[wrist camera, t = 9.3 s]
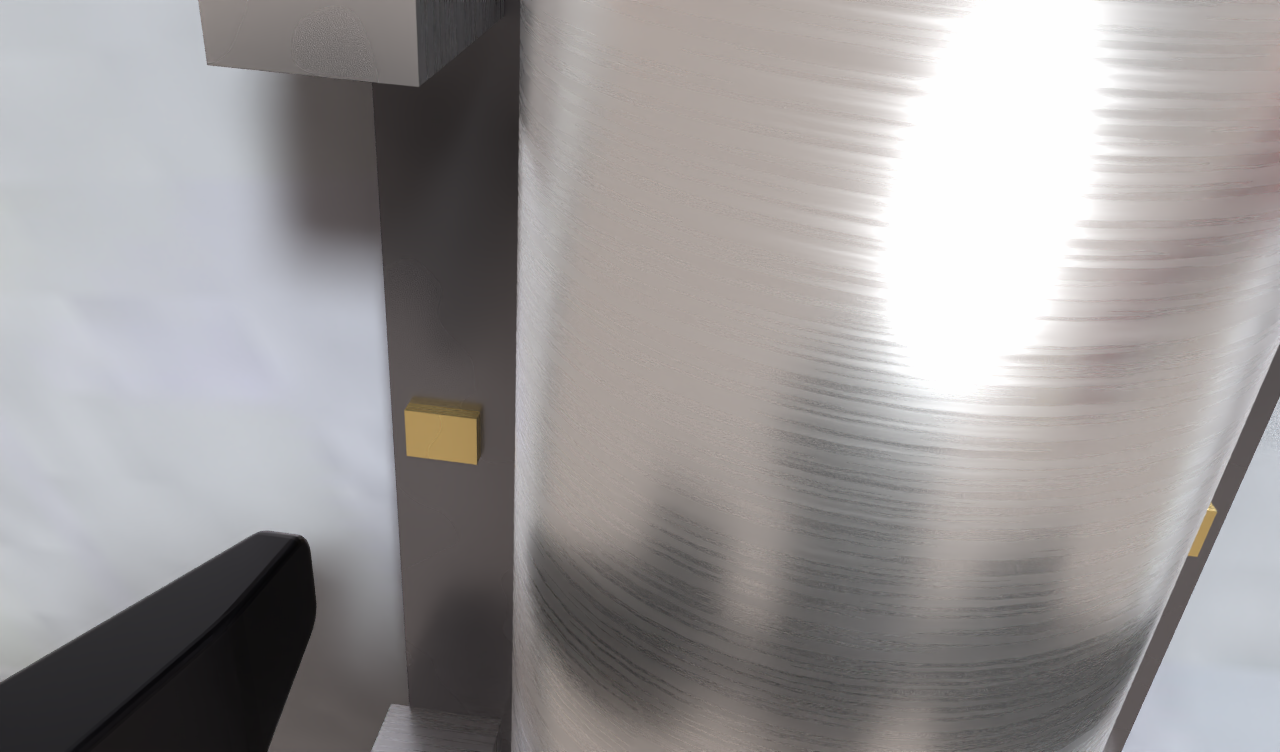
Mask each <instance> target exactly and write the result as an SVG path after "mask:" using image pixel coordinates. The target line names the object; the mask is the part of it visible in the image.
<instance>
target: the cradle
mask: <svg viewBox="0 0 1280 752" xmlns="http://www.w3.org/2000/svg"><path fill="white" fill-rule="evenodd" d="M198 1H199V9H200V16H201V23H202V30H203V37H204V45H205V52H206V59H207V65H211V66H221V67H231V68H240V69H250V70H260V71H269V72H279V73H289V74H299V75H308V76H318V77H328V78H337V79H347V80H357V81H367V82H372V87H373V104H374V121H375V138H376V154H377V171H378V188H379V204H380V221H381V238H382V254H383V271H384V288H385V304H386V321H387V338H388V355H389V371H390V388H391V405H392V421H393V438H394V455H395V471H396V488H397V505H398V522H399V538H400V555H401V572H402V588H403V605H404V622H405V638H406V655H407V672H408V689H409V705H410V706H405V705H398V704H391V706H390V708H389V710H388V713H387V715H386V717H385V720H384V722H383V724H382V727H381V729H380V731H379V734H378V736H377V738H376V741H375V743H374V745H373V748H372V750H371V752H511V733H512V651H513V569H514V487H515V405H516V323H517V241H518V159H519V77H520V0H198ZM1279 397H1280V344H1279V346H1278V349H1277V351H1276V353H1275V355H1274V358H1273V360H1272V362H1271V365H1270V367H1269V369H1268V372H1267V374H1266V376H1265V378H1264V381H1263V383H1262V385H1261V388H1260V390H1259V392H1258V395H1257V397H1256V399H1255V402H1254V404H1253V406H1252V408H1251V411H1250V413H1249V415H1248V418H1247V420H1246V422H1245V425H1244V427H1243V429H1242V431H1241V434H1240V436H1239V438H1238V441H1237V443H1236V445H1235V448H1234V450H1233V452H1232V454H1231V457H1230V459H1229V461H1228V464H1227V466H1226V468H1225V471H1224V473H1223V475H1222V477H1221V480H1220V482H1219V484H1218V487H1217V489H1216V491H1215V494H1214V496H1213V498H1212V500H1211V503H1210V505H1209V507H1208V510H1207V512H1206V514H1205V517H1204V519H1203V521H1202V523H1201V526H1200V528H1199V530H1198V533H1197V535H1196V537H1195V540H1194V542H1193V544H1192V546H1191V549H1190V551H1189V553H1188V556H1187V558H1186V560H1185V563H1184V565H1183V567H1182V570H1181V572H1180V574H1179V576H1178V579H1177V581H1176V583H1175V586H1174V588H1173V590H1172V593H1171V595H1170V597H1169V599H1168V602H1167V604H1166V606H1165V609H1164V611H1163V613H1162V616H1161V618H1160V620H1159V622H1158V625H1157V627H1156V629H1155V632H1154V634H1153V636H1152V639H1151V641H1150V643H1149V645H1148V648H1147V650H1146V652H1145V655H1144V657H1143V659H1142V662H1141V664H1140V666H1139V668H1138V671H1137V673H1136V675H1135V678H1134V680H1133V682H1132V685H1131V687H1130V689H1129V691H1128V694H1127V696H1126V698H1125V701H1124V703H1123V705H1122V708H1121V710H1120V712H1119V714H1118V717H1117V719H1116V721H1115V724H1114V726H1113V728H1112V731H1111V733H1110V735H1109V738H1108V740H1107V742H1106V744H1105V747H1104V749H1103V751H1102V752H1121V751H1122V749H1123V747H1124V744H1125V742H1126V740H1127V738H1128V735H1129V733H1130V731H1131V729H1132V726H1133V724H1134V722H1135V720H1136V717H1137V715H1138V713H1139V711H1140V709H1141V706H1142V704H1143V702H1144V700H1145V697H1146V695H1147V693H1148V691H1149V688H1150V686H1151V684H1152V682H1153V679H1154V677H1155V675H1156V673H1157V670H1158V668H1159V666H1160V664H1161V661H1162V659H1163V657H1164V655H1165V652H1166V650H1167V648H1168V646H1169V644H1170V641H1171V639H1172V637H1173V635H1174V632H1175V630H1176V628H1177V626H1178V623H1179V621H1180V619H1181V617H1182V614H1183V612H1184V610H1185V608H1186V605H1187V603H1188V601H1189V599H1190V596H1191V594H1192V592H1193V590H1194V587H1195V585H1196V583H1197V581H1198V579H1199V576H1200V574H1201V572H1202V570H1203V567H1204V565H1205V563H1206V561H1207V558H1208V556H1209V554H1210V552H1211V549H1212V547H1213V545H1214V543H1215V540H1216V538H1217V536H1218V534H1219V531H1220V529H1221V527H1222V525H1223V522H1224V520H1225V518H1226V516H1227V513H1228V511H1229V509H1230V507H1231V505H1232V502H1233V500H1234V498H1235V496H1236V493H1237V491H1238V489H1239V487H1240V484H1241V482H1242V480H1243V478H1244V475H1245V473H1246V471H1247V469H1248V466H1249V464H1250V462H1251V460H1252V457H1253V455H1254V453H1255V451H1256V448H1257V446H1258V444H1259V442H1260V440H1261V437H1262V435H1263V433H1264V431H1265V428H1266V426H1267V424H1268V422H1269V419H1270V417H1271V415H1272V413H1273V410H1274V408H1275V406H1276V404H1277V401H1278V399H1279Z"/></svg>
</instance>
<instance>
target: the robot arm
mask: <svg viewBox="0 0 1280 752" xmlns="http://www.w3.org/2000/svg"><path fill="white" fill-rule="evenodd" d="M315 617H316V596H315V587H314V578H313V569H312V560H311V552H310V547H309V544H308V542H307V540H306V539H305V538H304V537H302V536H300V535H296V534H289V533H282V532H274V531H260V532H257V533H255V534H253V535H251V536H250V537H248V538H246V539H244V540H243V541H241V542H239V543H238V544H236V545H234V546H233V547H231V548H229V549H227V550H226V551H224V552H222V553H221V554H219V555H217V556H215V557H214V558H212V559H210V560H209V561H207V562H205V563H203V564H202V565H200V566H198V567H197V568H195V569H193V570H192V571H190V572H188V573H186V574H185V575H183V576H181V577H180V578H178V579H176V580H174V581H173V582H171V583H169V584H168V585H166V586H164V587H162V588H161V589H159V590H157V591H156V592H154V593H152V594H151V595H149V596H147V597H145V598H144V599H142V600H140V601H139V602H137V603H135V604H133V605H132V606H130V607H128V608H127V609H125V610H123V611H121V612H120V613H118V614H116V615H115V616H113V617H111V618H110V619H108V620H106V621H104V622H103V623H101V624H99V625H98V626H96V627H94V628H92V629H91V630H89V631H87V632H86V633H84V634H82V635H80V636H79V637H77V638H75V639H74V640H72V641H70V642H68V643H67V644H65V645H63V646H62V647H60V648H58V649H57V650H55V651H53V652H51V653H50V654H48V655H46V656H45V657H43V658H41V659H39V660H38V661H36V662H34V663H33V664H31V665H29V666H27V667H26V668H24V669H22V670H21V671H19V672H17V673H16V674H14V675H12V676H10V677H9V678H7V679H5V680H4V681H2V682H0V752H267V751H268V748H269V746H270V743H271V740H272V738H273V735H274V732H275V730H276V727H277V724H278V722H279V719H280V716H281V714H282V711H283V708H284V705H285V703H286V700H287V697H288V695H289V692H290V689H291V687H292V684H293V681H294V679H295V676H296V673H297V671H298V668H299V665H300V662H301V660H302V657H303V654H304V652H305V649H306V646H307V644H308V641H309V638H310V636H311V633H312V630H313V626H314V622H315Z"/></svg>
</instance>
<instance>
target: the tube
mask: <svg viewBox="0 0 1280 752" xmlns="http://www.w3.org/2000/svg"><path fill="white" fill-rule="evenodd" d="M1279 344H1280V0H520V77H519V159H518V241H517V323H516V405H515V487H514V569H513V651H512V733H511V752H1102V751H1103V749H1104V747H1105V744H1106V742H1107V740H1108V738H1109V735H1110V733H1111V731H1112V728H1113V726H1114V724H1115V721H1116V719H1117V717H1118V714H1119V712H1120V710H1121V708H1122V705H1123V703H1124V701H1125V698H1126V696H1127V694H1128V691H1129V689H1130V687H1131V685H1132V682H1133V680H1134V678H1135V675H1136V673H1137V671H1138V668H1139V666H1140V664H1141V662H1142V659H1143V657H1144V655H1145V652H1146V650H1147V648H1148V645H1149V643H1150V641H1151V639H1152V636H1153V634H1154V632H1155V629H1156V627H1157V625H1158V622H1159V620H1160V618H1161V616H1162V613H1163V611H1164V609H1165V606H1166V604H1167V602H1168V599H1169V597H1170V595H1171V593H1172V590H1173V588H1174V586H1175V583H1176V581H1177V579H1178V576H1179V574H1180V572H1181V570H1182V567H1183V565H1184V563H1185V560H1186V558H1187V556H1188V553H1189V551H1190V549H1191V546H1192V544H1193V542H1194V540H1195V537H1196V535H1197V533H1198V530H1199V528H1200V526H1201V523H1202V521H1203V519H1204V517H1205V514H1206V512H1207V510H1208V507H1209V505H1210V503H1211V500H1212V498H1213V496H1214V494H1215V491H1216V489H1217V487H1218V484H1219V482H1220V480H1221V477H1222V475H1223V473H1224V471H1225V468H1226V466H1227V464H1228V461H1229V459H1230V457H1231V454H1232V452H1233V450H1234V448H1235V445H1236V443H1237V441H1238V438H1239V436H1240V434H1241V431H1242V429H1243V427H1244V425H1245V422H1246V420H1247V418H1248V415H1249V413H1250V411H1251V408H1252V406H1253V404H1254V402H1255V399H1256V397H1257V395H1258V392H1259V390H1260V388H1261V385H1262V383H1263V381H1264V378H1265V376H1266V374H1267V372H1268V369H1269V367H1270V365H1271V362H1272V360H1273V358H1274V355H1275V353H1276V351H1277V349H1278V346H1279Z"/></svg>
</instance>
